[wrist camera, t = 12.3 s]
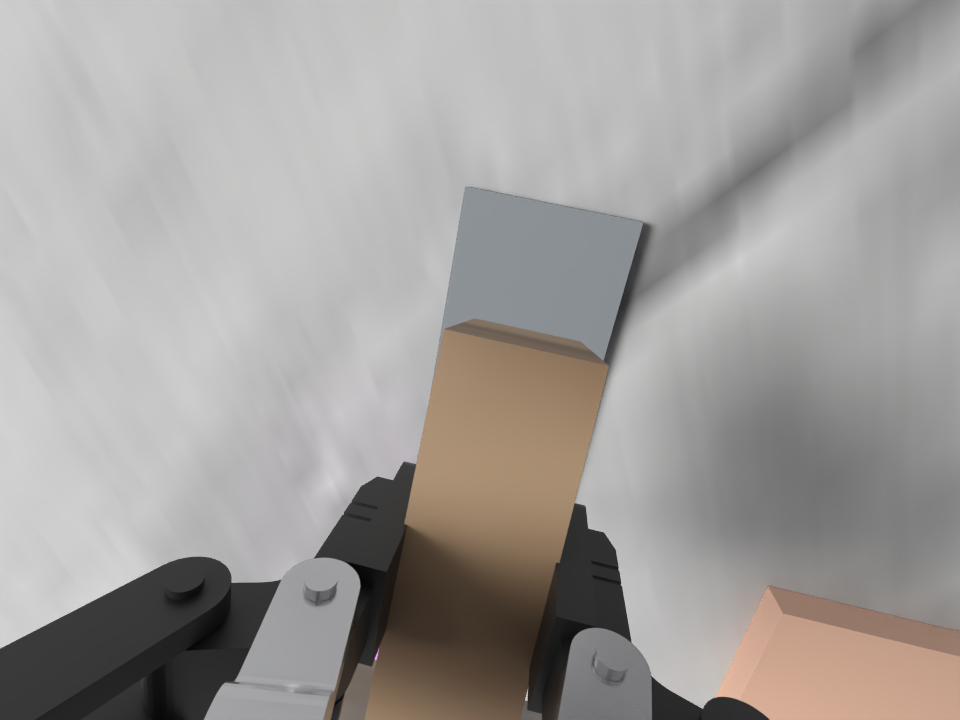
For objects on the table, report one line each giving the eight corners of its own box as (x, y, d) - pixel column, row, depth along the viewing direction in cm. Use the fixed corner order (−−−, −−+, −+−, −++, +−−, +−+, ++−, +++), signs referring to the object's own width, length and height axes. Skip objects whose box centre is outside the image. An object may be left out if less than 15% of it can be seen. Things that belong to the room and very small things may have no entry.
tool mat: (467, 186, 23) (465, 186, 22) (641, 221, 22) (643, 222, 22) (412, 509, 29) (410, 516, 28) (548, 543, 28) (548, 550, 28)
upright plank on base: (405, 303, 14) (337, 305, 9) (653, 357, 14) (724, 391, 9) (333, 678, 16) (243, 851, 11) (552, 738, 15) (562, 949, 10)
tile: (782, 613, 26) (723, 732, 29) (1031, 673, 25) (942, 790, 28) (765, 580, 28) (711, 694, 31) (993, 635, 27) (914, 746, 30)
